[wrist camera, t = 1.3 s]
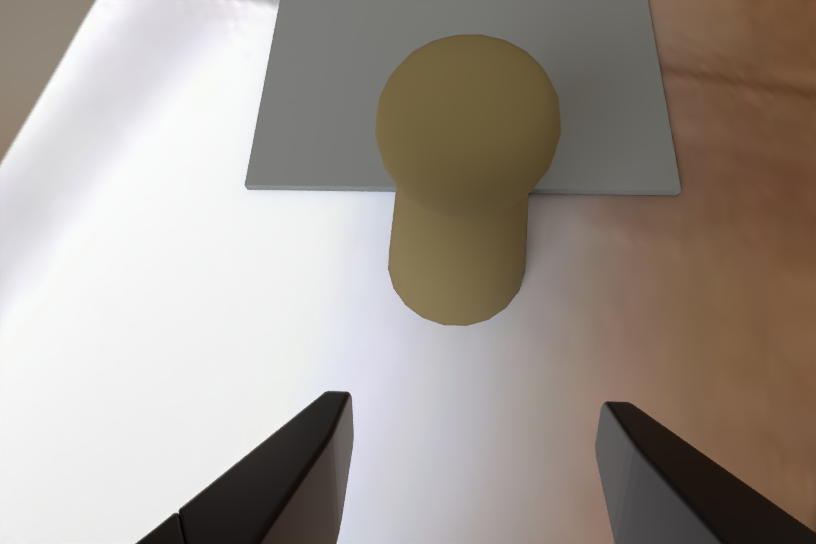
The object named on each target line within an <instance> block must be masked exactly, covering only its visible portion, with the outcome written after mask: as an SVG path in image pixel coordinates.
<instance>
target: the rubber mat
mask: <svg viewBox="0 0 816 544" xmlns="http://www.w3.org/2000/svg"><path fill="white" fill-rule="evenodd" d="M477 34H481V35H486V36H490V37H494V38H499V39H503V40H506V41H508V42H510V43H512V44H514V45H516V46H517V47H519V48H521V49H523V50H525V51H527V52H528V53H529V54H530V55H531V56H532V57H533V58H534V59H535V60H536V61H537V62H538V63H539V64H540V65H541V66H542V67H543V69H544V70H545V72H546V73H547V75H548V77H549V79H550V81H551V83H552V85H553V87H554V89H555V91H556V93H557V95H558V97H559V109H560V121H561V135H560V138H559V141H558V145H557V148H556V151H555V154H554V157H553V160H552V163H551V165H550V168H549V170H548V171H547V172H546V174H545V175H544V176H543V177H542V179H541V180H540V181H539V182H538V184H537V185H536V186H535V187H534V188H533V190H532V191H531V192H530V193H539V194H613V195H678V194H679V193H680V192H681V186H680V180H679V174H678V169H677V163H676V157H675V152H674V146H673V140H672V135H671V129H670V123H669V118H668V112H667V106H666V100H665V95H664V89H663V83H662V78H661V72H660V66H659V61H658V55H657V49H656V44H655V38H654V32H653V27H652V21H651V15H650V10H649V4H648V0H280V3H279V8H278V14H277V19H276V24H275V29H274V34H273V40H272V45H271V50H270V55H269V61H268V66H267V71H266V76H265V82H264V87H263V92H262V97H261V103H260V108H259V113H258V118H257V123H256V129H255V134H254V139H253V144H252V150H251V155H250V160H249V165H248V171H247V176H246V181H245V186H246V188H247V190H319V191H392V192H396V186H397V185H396V183H395V182H394V181H393V179H392V178H391V177H390V175H389V174H388V172H387V171H386V169H385V168H384V164H383V161H382V158H381V155H380V152H379V148H378V145H377V140H376V135H375V128H376V115H377V107H378V102H379V97H380V95H381V93H382V91H383V89H384V87H385V85H386V83H387V81H388V78H389V76H390V75H391V74H392V73H393V72H394V70H395V69H396V68H397V67H398V66H399V65H400V64H401V63H402V62H403V61H404V60H405V59H406V58H407V57H408V56H409V55H410V54H411V53H412V52H413V51H415V50H417V49H418V48H420V47H422V46H424V45H426V44H428V43H429V42H431V41H433V40H437V39H441V38H445V37H449V36H453V35H477Z"/></svg>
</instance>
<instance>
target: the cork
mask: <svg viewBox="0 0 816 544" xmlns="http://www.w3.org/2000/svg"><path fill="white" fill-rule="evenodd" d="M375 135H376V140H377V145H378V148H379V152H380V155H381V158H382V161H383V164H384V168H385V169H386V171H387V172H388V174H389V175H390V177H391V178H392V179H393V181H394V182H395V183H396V185H397V186H396V195H395V204H394V213H393V222H392V231H391V240H390V249H389V265H388V270H389V274H390V277H391V280H392V284H393V287H394V289H395V291H396V292H397V294H398V295H399V296H400V298H401V299H402V301H403V302H404V303H405V305H406V306H408V307H409V308H410V309H412V310H413V311H414V312H416V313H417V314H419V315H420V316H421V317H423V318H425V319H428V320H431V321H434V322H437V323H440V324H443V325H463V326H467V325H471V324H474V323H478V322H481V321H485V320H488V319H490V318H491V317H493V316H494V315H496V314H497V313H499V312H500V311H502V310H503V309H505V308H506V307H507V306H508V305H509V303H510V302H511V301H512V299H513V298H514V297H515V295H516V294H517V293H518V291H519V289H520V286H521V282H522V279H523V276H524V273H525V258H526V236H527V215H528V194H529V193H530V192H531V191H532V190H533V188H534V187H535V186H536V185H537V184H538V182H539V181H540V180H541V179H542V177H543V176H544V175H545V174H546V172H547V171H548V170H549V168H550V165H551V163H552V160H553V157H554V154H555V151H556V148H557V145H558V141H559V138H560V135H561V121H560V109H559V97H558V95H557V93H556V91H555V89H554V87H553V85H552V83H551V81H550V79H549V77H548V75H547V73H546V72H545V70H544V69H543V67H542V66H541V65H540V64H539V63H538V62H537V61H536V60H535V59H534V58H533V57H532V56H531V55H530V54H529V53H528V52H527V51H525V50H523V49H521V48H519V47H517V46H516V45H514V44H512V43H510V42H508V41H506V40H503V39H499V38H494V37H490V36H486V35H481V34H477V35H453V36H449V37H445V38H441V39H437V40H433V41H431V42H429V43H428V44H426V45H424V46H422V47H420V48H418V49H417V50H415V51H413V52H412V53H411V54H410V55H409V56H408V57H407V58H406V59H405V60H404V61H403V62H402V63H401V64H400V65H399V66H398V67H397V68H396V69H395V70H394V72H393V73H392V74H391V75H390V76H389V78H388V81H387V83H386V85H385V87H384V89H383V91H382V93H381V95H380V97H379V102H378V107H377V115H376V128H375Z"/></svg>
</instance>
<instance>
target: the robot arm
mask: <svg viewBox="0 0 816 544" xmlns="http://www.w3.org/2000/svg"><path fill="white" fill-rule="evenodd" d="M353 436H354V433H353V411H352V397H351V394H350V393H349V392H343V391H327V392H325V393H323V394H322V395H321V396H320V397H318V398H317V399H316V400H315V401H313V402H312V403H311V404H310V405H308V406H307V407H306V408H305V409H303V410H302V411H301V412H300V413H298V414H297V415H296V416H295V417H293V418H292V419H291V420H290V421H288V422H287V423H286V424H285V425H283V426H282V427H281V428H280V429H278V430H277V431H276V432H275V433H274V434H272V435H271V436H270V437H269V438H267V439H266V440H265V441H264V442H262V443H261V444H260V445H259V446H257V447H256V448H255V449H254V450H252V451H251V452H250V453H249V454H247V455H246V456H245V457H244V458H242V459H241V460H240V461H239V462H237V463H236V464H235V465H234V466H232V467H231V468H230V469H229V470H227V471H226V472H225V473H224V474H222V475H221V476H220V477H219V478H217V479H216V480H215V481H214V482H213V483H211V484H210V485H209V486H208V487H206V488H205V489H204V490H203V491H201V492H200V493H199V494H198V495H196V496H195V497H194V498H193V499H191V500H190V501H189V502H188V503H186V504H185V505H184V506H183V507H181V508H180V509H179V511H178V512H179V514H178V513H174V514H172V515H171V516H170V517H169V518H167V519H166V520H165V521H164V522H162V523H161V524H160V525H159V526H157V527H156V528H155V529H154V530H152V531H151V532H150V533H149V534H147V535H146V536H145V537H143V538H142V539H141V540H139V541H138V542H137V543H135V544H336V543H337V539H338V535H339V530H340V525H341V520H342V514H343V507H344V501H345V494H346V487H347V481H348V474H349V468H350V461H351V455H352V448H353ZM595 449H596V459H597V463H598V468H599V473H600V477H601V482H602V487H603V491H604V496H605V501H606V505H607V510H608V515H609V519H610V524H611V529H612V533H613V537H614V542H615V544H816V533H815V532H814V531H812V530H811V529H809V528H808V527H807V526H805V525H804V524H802V523H801V522H799V521H798V520H797V519H795V518H794V517H792V516H791V515H789V514H788V513H787V512H785V511H784V510H782V509H781V508H780V507H778V506H777V505H775V504H774V503H772V502H771V501H770V500H768V499H767V498H765V497H764V496H762V495H761V494H760V493H758V492H757V491H755V490H754V489H752V488H751V487H750V486H748V485H747V484H745V483H744V482H743V481H741V480H740V479H738V478H737V477H735V476H734V475H733V474H731V473H730V472H728V471H727V470H725V469H724V468H723V467H721V466H720V465H718V464H717V463H716V462H714V461H713V460H711V459H710V458H708V457H707V456H706V455H704V454H703V453H701V452H700V451H698V450H697V449H696V448H694V447H693V446H691V445H690V444H688V443H687V442H686V441H684V440H683V439H681V438H680V437H679V436H677V435H676V434H674V433H673V432H671V431H670V430H669V429H667V428H666V427H664V426H663V425H661V424H660V423H659V422H657V421H656V420H654V419H653V418H652V417H650V416H649V415H647V414H646V413H644V412H643V411H642V410H640V409H639V408H637V407H636V406H634V405H633V404H631V403H629V402H610V401H607V402H605V403H604V404H603V405H602V407H601V412H600V418H599V424H598V431H597V437H596V445H595Z"/></svg>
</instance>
